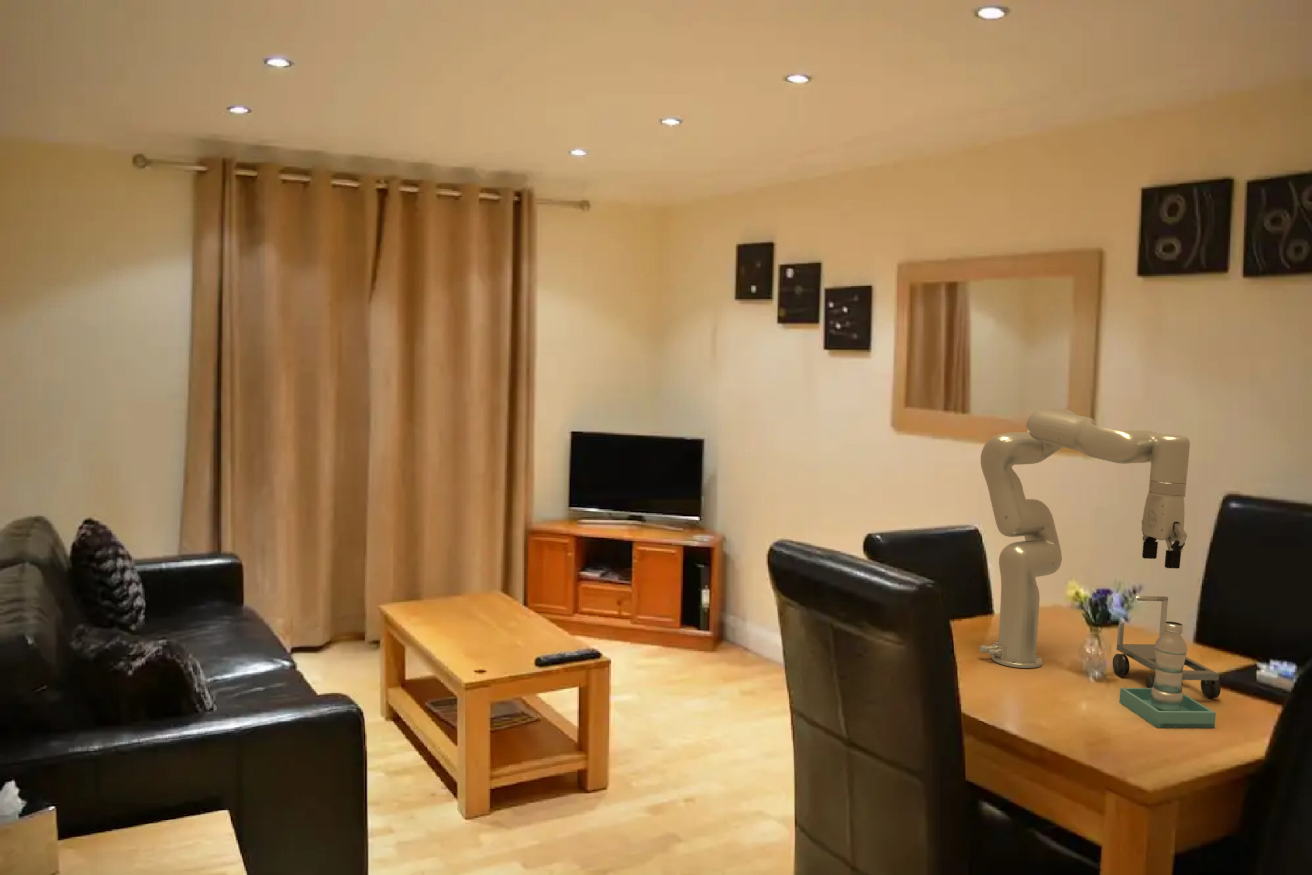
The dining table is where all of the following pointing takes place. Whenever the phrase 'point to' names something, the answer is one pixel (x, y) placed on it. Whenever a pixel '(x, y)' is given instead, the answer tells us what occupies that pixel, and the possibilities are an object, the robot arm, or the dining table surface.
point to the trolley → (1148, 659)
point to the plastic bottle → (1169, 668)
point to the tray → (1185, 718)
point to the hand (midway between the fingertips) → (1160, 563)
